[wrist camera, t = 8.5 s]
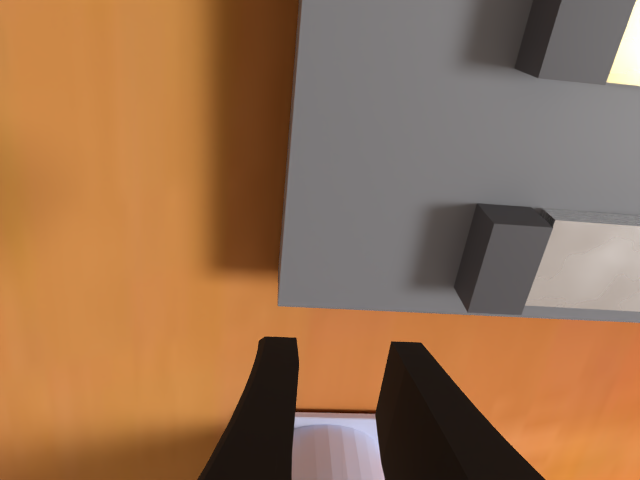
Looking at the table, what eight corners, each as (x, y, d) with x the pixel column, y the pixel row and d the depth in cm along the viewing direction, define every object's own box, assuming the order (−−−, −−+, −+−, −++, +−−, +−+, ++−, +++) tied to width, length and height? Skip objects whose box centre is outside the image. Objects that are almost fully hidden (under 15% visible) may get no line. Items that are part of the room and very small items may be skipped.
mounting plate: (783, 298, 24) (879, 360, 20) (278, 271, 21) (277, 336, 17) (1005, -38, 17) (1211, -41, 13) (310, -139, 14) (320, -179, 11)
